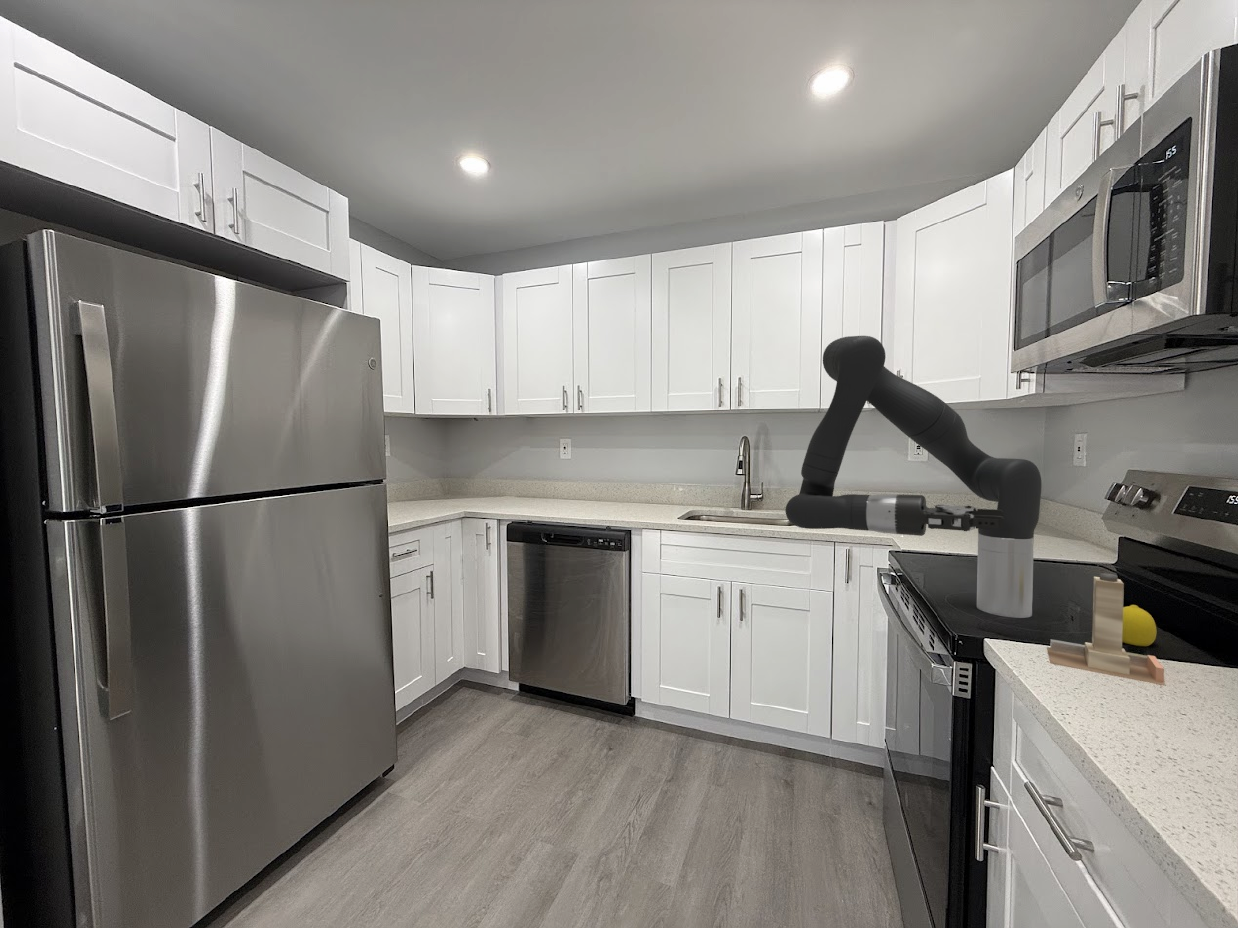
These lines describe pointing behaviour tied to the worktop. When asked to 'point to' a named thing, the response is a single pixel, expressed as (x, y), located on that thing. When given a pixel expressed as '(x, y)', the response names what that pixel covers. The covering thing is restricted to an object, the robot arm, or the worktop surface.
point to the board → (1081, 663)
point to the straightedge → (1080, 650)
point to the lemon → (1138, 626)
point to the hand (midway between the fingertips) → (1003, 519)
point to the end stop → (1155, 668)
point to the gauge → (1107, 626)
